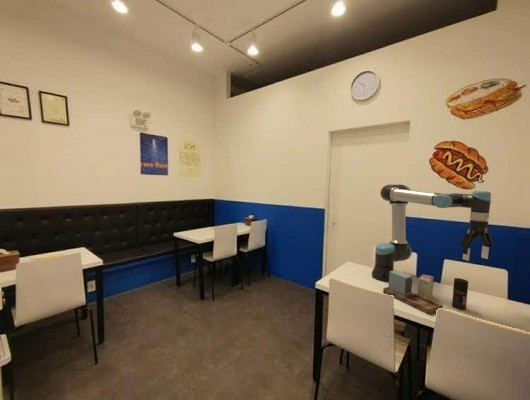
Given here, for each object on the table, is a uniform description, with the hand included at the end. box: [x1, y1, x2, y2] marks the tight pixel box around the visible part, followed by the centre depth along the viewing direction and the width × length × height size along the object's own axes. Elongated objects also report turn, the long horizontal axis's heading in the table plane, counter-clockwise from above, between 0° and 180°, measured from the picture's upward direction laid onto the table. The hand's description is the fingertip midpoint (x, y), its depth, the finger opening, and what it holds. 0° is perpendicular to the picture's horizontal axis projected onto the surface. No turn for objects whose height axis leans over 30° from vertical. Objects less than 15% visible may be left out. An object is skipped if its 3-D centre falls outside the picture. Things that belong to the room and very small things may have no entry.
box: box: [416, 273, 435, 300], centre depth 143 cm, size 10×6×12 cm, turn 134°
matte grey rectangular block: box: [388, 269, 413, 296], centre depth 144 cm, size 11×6×12 cm, turn 26°
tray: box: [382, 286, 444, 316], centre depth 139 cm, size 27×11×3 cm, turn 26°
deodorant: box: [451, 277, 469, 311], centre depth 132 cm, size 6×6×15 cm
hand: (475, 259), depth 133 cm, fingers open, 13 cm apart
